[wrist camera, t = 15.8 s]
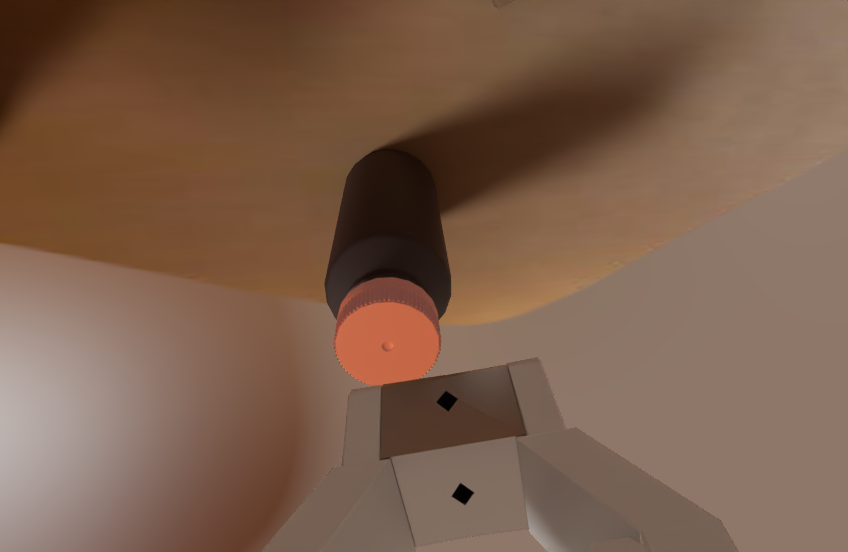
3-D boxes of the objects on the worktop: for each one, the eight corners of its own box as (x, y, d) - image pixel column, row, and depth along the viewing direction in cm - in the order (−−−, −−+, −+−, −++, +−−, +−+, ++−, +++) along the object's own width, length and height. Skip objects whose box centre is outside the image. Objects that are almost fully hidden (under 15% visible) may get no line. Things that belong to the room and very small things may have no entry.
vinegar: (393, 249, 47) (394, 426, 29) (325, 195, 45) (282, 352, 27) (453, 189, 45) (492, 340, 27) (385, 128, 42) (380, 252, 25)
